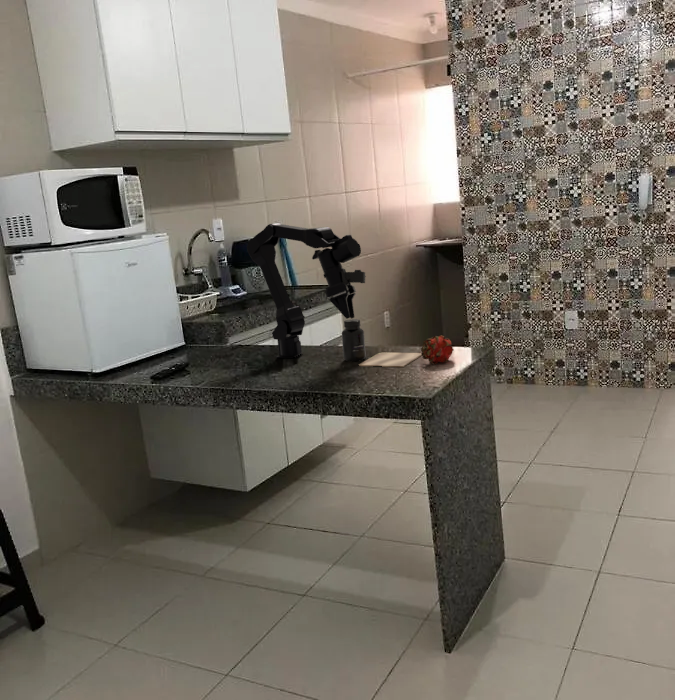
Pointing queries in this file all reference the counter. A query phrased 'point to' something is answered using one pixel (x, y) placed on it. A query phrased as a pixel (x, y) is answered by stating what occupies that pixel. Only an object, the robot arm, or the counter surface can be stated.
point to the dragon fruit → (437, 349)
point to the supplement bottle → (353, 341)
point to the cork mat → (391, 359)
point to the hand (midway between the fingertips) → (350, 318)
